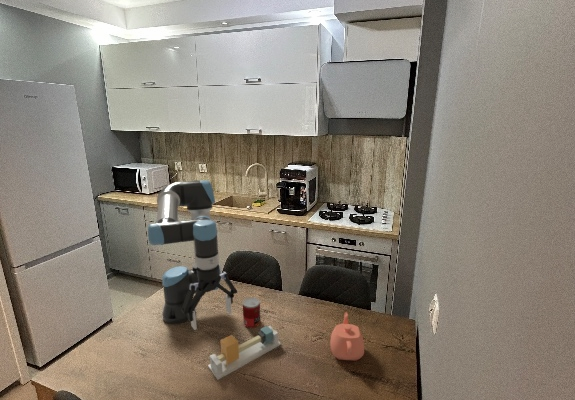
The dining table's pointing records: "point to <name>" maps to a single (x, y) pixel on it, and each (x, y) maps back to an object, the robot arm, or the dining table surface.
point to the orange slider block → (230, 348)
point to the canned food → (251, 312)
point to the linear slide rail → (245, 352)
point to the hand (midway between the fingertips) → (212, 319)
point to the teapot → (347, 341)
